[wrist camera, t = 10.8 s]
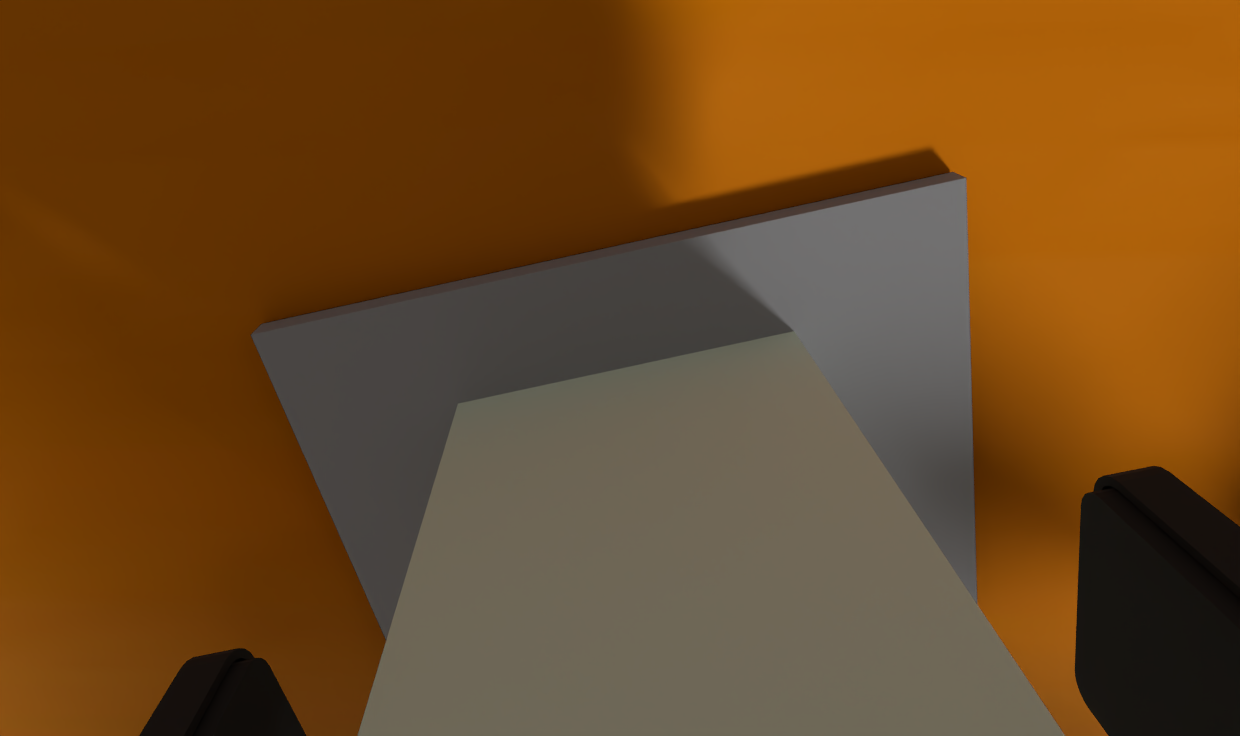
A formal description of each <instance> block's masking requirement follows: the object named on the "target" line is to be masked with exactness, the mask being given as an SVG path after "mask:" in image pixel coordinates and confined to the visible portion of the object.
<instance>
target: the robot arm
mask: <svg viewBox="0 0 1240 736" xmlns="http://www.w3.org/2000/svg"><path fill="white" fill-rule="evenodd" d="M1075 677H1076V681H1077V685H1078V688H1079V691H1080V693H1081V695H1082V697H1083V700H1084V701H1085V703H1086V705H1087V706H1088V708H1089V709H1090V711H1091V712H1092V713H1093V715H1094V716H1095V717H1096V719H1097V720H1098V722H1099V723H1100V724H1101V726H1102V727H1103V728H1104V730H1105V731H1106V733H1107V734H1108V735H1109V736H1240V527H1239V526H1238V525H1237V524H1235V523H1234V522H1233V521H1232V520H1230V519H1229V518H1228V517H1226V516H1225V515H1224V514H1223V513H1221V512H1220V511H1219V510H1217V509H1216V508H1215V507H1214V506H1212V505H1211V504H1210V503H1208V502H1207V501H1206V500H1205V499H1203V498H1202V497H1201V496H1200V495H1198V494H1197V493H1196V492H1194V491H1193V490H1192V489H1191V488H1189V487H1188V486H1187V485H1185V484H1184V483H1183V482H1182V481H1180V480H1179V479H1178V478H1176V477H1175V476H1174V475H1173V474H1171V473H1170V472H1169V471H1167V470H1165V469H1163V468H1162V467H1157V466H1151V467H1146V468H1141V469H1136V470H1131V471H1126V472H1121V473H1116V474H1111V475H1106V476H1102V477H1100V478H1098V480H1097V482H1096V483H1095V486H1094V492H1090V493H1087V494H1085V495H1084V497H1083V498H1082V503H1081V520H1080V547H1079V573H1078V600H1077V626H1076V653H1075ZM139 736H306V734H305V732H304V730H303V728H302V727H301V725H300V723H299V721H298V719H297V717H296V715H295V713H294V711H293V710H292V708H291V706H290V704H289V702H288V700H287V698H286V696H285V694H284V693H283V691H282V689H281V687H280V685H279V683H278V681H277V679H276V677H275V675H274V674H273V672H272V670H271V668H270V666H269V665H268V663H267V662H266V661H265V660H264V659H262V658H254V657H253V655H252V654H251V652H249V651H247V650H246V649H240V648H238V649H233V650H228V651H223V652H218V653H213V654H208V655H203V656H198V657H193V658H191V659H190V660H188V661H186V663H185V664H184V665H183V666H182V667H181V669H180V670H179V672H178V673H177V675H176V677H175V678H174V680H173V682H172V683H171V685H170V687H169V688H168V690H167V691H166V693H165V695H164V696H163V698H162V700H161V701H160V703H159V704H158V706H157V708H156V709H155V711H154V713H153V714H152V716H151V717H150V719H149V721H148V722H147V724H146V726H145V727H144V729H143V731H142V732H141V734H140V735H139Z"/></svg>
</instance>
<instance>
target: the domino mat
mask: <svg viewBox="0 0 1240 736" xmlns="http://www.w3.org/2000/svg"><path fill="white" fill-rule="evenodd" d="M792 331H794V332H795V333H796V335H797V336H798V338H799V339H800V341H801V342H802V344H803V345H804V347H805V348H806V350H807V351H808V353H809V354H810V356H811V357H812V359H813V360H814V362H815V363H816V365H817V366H818V368H819V369H820V371H821V372H822V374H823V375H824V377H825V378H826V380H827V381H828V383H829V384H830V386H831V387H832V389H833V390H834V392H835V393H836V395H837V396H838V398H839V399H840V401H841V402H842V403H843V405H844V406H845V408H846V409H847V411H848V412H849V414H850V415H851V417H852V418H853V420H854V421H855V423H856V424H857V426H858V427H859V429H860V430H861V432H862V433H863V435H864V436H865V438H866V439H867V441H868V442H869V444H870V445H871V447H872V448H873V450H874V451H875V453H876V454H877V456H878V457H879V459H880V460H881V462H882V463H883V465H884V466H885V468H886V469H887V471H888V472H889V474H890V475H891V477H892V478H893V480H894V481H895V483H896V484H897V486H898V487H899V489H900V490H901V492H902V493H903V495H904V496H905V498H906V499H907V501H908V502H909V504H910V505H911V507H912V508H913V510H914V511H915V512H916V514H917V515H918V517H919V518H920V520H921V521H922V523H923V524H924V526H925V527H926V529H927V530H928V532H929V533H930V535H931V536H932V538H933V539H934V541H935V542H936V544H937V545H938V547H939V548H940V550H941V551H942V553H943V554H944V556H945V557H946V559H947V560H948V562H949V563H950V565H951V566H952V568H953V569H954V571H955V572H956V574H957V575H958V577H959V578H960V580H961V581H962V583H963V584H964V586H965V587H966V589H967V590H968V592H969V593H970V595H971V596H972V598H973V599H974V601H975V602H976V604H977V581H976V542H975V503H974V464H973V426H972V387H971V348H970V309H969V271H968V232H967V193H966V178H965V177H963V176H961V175H958V174H956V173H954V172H950V173H946V174H941V175H937V176H932V177H927V178H923V179H918V180H914V181H909V182H905V183H900V184H896V185H891V186H887V187H882V188H877V189H873V190H868V191H864V192H859V193H855V194H850V195H846V196H841V197H837V198H832V199H827V200H823V201H818V202H814V203H809V204H805V205H800V206H796V207H791V208H787V209H782V210H777V211H773V212H768V213H764V214H759V215H755V216H750V217H746V218H741V219H737V220H732V221H727V222H723V223H718V224H714V225H709V226H705V227H700V228H696V229H691V230H686V231H682V232H677V233H673V234H668V235H664V236H659V237H655V238H650V239H646V240H641V241H636V242H632V243H627V244H623V245H618V246H614V247H609V248H605V249H600V250H596V251H591V252H586V253H582V254H577V255H573V256H568V257H564V258H559V259H555V260H550V261H546V262H541V263H536V264H532V265H527V266H523V267H518V268H514V269H509V270H505V271H500V272H496V273H491V274H486V275H482V276H477V277H473V278H468V279H464V280H459V281H455V282H450V283H445V284H441V285H436V286H432V287H427V288H423V289H418V290H414V291H409V292H405V293H400V294H395V295H391V296H386V297H382V298H377V299H373V300H368V301H364V302H359V303H355V304H350V305H345V306H341V307H336V308H332V309H327V310H323V311H318V312H314V313H309V314H305V315H300V316H295V317H291V318H286V319H282V320H277V321H273V322H268V323H264V324H261V325H260V326H259V327H258V328H257V329H256V330H255V331H254V332H253V333H252V334H251V337H252V339H253V341H254V344H255V346H256V348H257V350H258V353H259V355H260V357H261V359H262V362H263V364H264V366H265V368H266V371H267V373H268V375H269V377H270V380H271V382H272V384H273V386H274V389H275V391H276V393H277V395H278V398H279V400H280V402H281V404H282V407H283V409H284V411H285V413H286V416H287V418H288V420H289V422H290V425H291V427H292V429H293V432H294V434H295V436H296V438H297V441H298V443H299V445H300V447H301V450H302V452H303V454H304V456H305V459H306V461H307V463H308V465H309V468H310V470H311V472H312V474H313V477H314V479H315V481H316V483H317V486H318V488H319V490H320V492H321V495H322V497H323V499H324V501H325V504H326V506H327V508H328V510H329V513H330V515H331V517H332V519H333V522H334V524H335V526H336V528H337V531H338V533H339V535H340V538H341V540H342V542H343V544H344V547H345V549H346V551H347V553H348V556H349V558H350V560H351V562H352V565H353V567H354V569H355V571H356V574H357V576H358V578H359V580H360V583H361V585H362V587H363V589H364V592H365V594H366V596H367V598H368V601H369V603H370V605H371V607H372V610H373V612H374V614H375V616H376V619H377V621H378V623H379V625H380V628H381V630H382V632H383V635H384V637H385V639H386V640H387V636H388V633H389V630H390V627H391V623H392V620H393V617H394V613H395V610H396V607H397V603H398V600H399V597H400V594H401V590H402V587H403V584H404V580H405V577H406V574H407V570H408V567H409V564H410V560H411V557H412V554H413V551H414V547H415V544H416V541H417V537H418V534H419V531H420V527H421V524H422V521H423V517H424V514H425V511H426V508H427V504H428V501H429V498H430V494H431V491H432V488H433V484H434V481H435V478H436V475H437V471H438V468H439V465H440V461H441V458H442V455H443V451H444V448H445V445H446V441H447V438H448V435H449V432H450V428H451V425H452V422H453V418H454V415H455V412H456V408H457V405H458V403H463V402H468V401H472V400H477V399H482V398H486V397H491V396H496V395H500V394H505V393H510V392H514V391H519V390H523V389H528V388H533V387H537V386H542V385H547V384H551V383H556V382H561V381H565V380H570V379H574V378H579V377H584V376H588V375H593V374H598V373H602V372H607V371H612V370H616V369H621V368H625V367H630V366H635V365H639V364H644V363H649V362H653V361H658V360H663V359H667V358H672V357H676V356H681V355H686V354H690V353H695V352H700V351H704V350H709V349H714V348H718V347H723V346H728V345H732V344H737V343H741V342H746V341H751V340H755V339H760V338H765V337H769V336H774V335H779V334H783V333H788V332H792Z"/></svg>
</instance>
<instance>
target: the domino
mask: <svg viewBox="0 0 1240 736" xmlns="http://www.w3.org/2000/svg"><path fill="white" fill-rule="evenodd" d="M358 736H1065V735H1064V733H1063V732H1062V730H1061V729H1060V727H1059V726H1058V724H1057V723H1056V722H1055V720H1054V719H1053V717H1052V716H1051V714H1050V713H1049V711H1048V710H1047V708H1046V707H1045V705H1044V704H1043V702H1042V701H1041V699H1040V698H1039V696H1038V695H1037V693H1036V692H1035V690H1034V689H1033V687H1032V686H1031V684H1030V683H1029V681H1028V680H1027V678H1026V677H1025V675H1024V674H1023V672H1022V671H1021V669H1020V668H1019V666H1018V665H1017V663H1016V662H1015V660H1014V659H1013V657H1012V656H1011V654H1010V653H1009V651H1008V650H1007V648H1006V647H1005V645H1004V644H1003V642H1002V641H1001V639H1000V638H999V636H998V635H997V633H996V632H995V630H994V629H993V627H992V626H991V624H990V623H989V621H988V620H987V618H986V617H985V616H984V614H983V613H982V611H981V610H980V608H979V607H978V605H977V604H976V602H975V601H974V599H973V598H972V596H971V595H970V593H969V592H968V590H967V589H966V587H965V586H964V584H963V583H962V581H961V580H960V578H959V577H958V575H957V574H956V572H955V571H954V569H953V568H952V566H951V565H950V563H949V562H948V560H947V559H946V557H945V556H944V554H943V553H942V551H941V550H940V548H939V547H938V545H937V544H936V542H935V541H934V539H933V538H932V536H931V535H930V533H929V532H928V530H927V529H926V527H925V526H924V524H923V523H922V521H921V520H920V518H919V517H918V515H917V514H916V512H915V511H914V510H913V508H912V507H911V505H910V504H909V502H908V501H907V499H906V498H905V496H904V495H903V493H902V492H901V490H900V489H899V487H898V486H897V484H896V483H895V481H894V480H893V478H892V477H891V475H890V474H889V472H888V471H887V469H886V468H885V466H884V465H883V463H882V462H881V460H880V459H879V457H878V456H877V454H876V453H875V451H874V450H873V448H872V447H871V445H870V444H869V442H868V441H867V439H866V438H865V436H864V435H863V433H862V432H861V430H860V429H859V427H858V426H857V424H856V423H855V421H854V420H853V418H852V417H851V415H850V414H849V412H848V411H847V409H846V408H845V406H844V405H843V403H842V402H841V401H840V399H839V398H838V396H837V395H836V393H835V392H834V390H833V389H832V387H831V386H830V384H829V383H828V381H827V380H826V378H825V377H824V375H823V374H822V372H821V371H820V369H819V368H818V366H817V365H816V363H815V362H814V360H813V359H812V357H811V356H810V354H809V353H808V351H807V350H806V348H805V347H804V345H803V344H802V342H801V341H800V339H799V338H798V336H797V335H796V333H795V332H794V331H792V332H788V333H783V334H779V335H774V336H769V337H765V338H760V339H755V340H751V341H746V342H741V343H737V344H732V345H728V346H723V347H718V348H714V349H709V350H704V351H700V352H695V353H690V354H686V355H681V356H676V357H672V358H667V359H663V360H658V361H653V362H649V363H644V364H639V365H635V366H630V367H625V368H621V369H616V370H612V371H607V372H602V373H598V374H593V375H588V376H584V377H579V378H574V379H570V380H565V381H561V382H556V383H551V384H547V385H542V386H537V387H533V388H528V389H523V390H519V391H514V392H510V393H505V394H500V395H496V396H491V397H486V398H482V399H477V400H472V401H468V402H463V403H458V405H457V408H456V412H455V415H454V418H453V422H452V425H451V428H450V432H449V435H448V438H447V441H446V445H445V448H444V451H443V455H442V458H441V461H440V465H439V468H438V471H437V475H436V478H435V481H434V484H433V488H432V491H431V494H430V498H429V501H428V504H427V508H426V511H425V514H424V517H423V521H422V524H421V527H420V531H419V534H418V537H417V541H416V544H415V547H414V551H413V554H412V557H411V560H410V564H409V567H408V570H407V574H406V577H405V580H404V584H403V587H402V590H401V594H400V597H399V600H398V603H397V607H396V610H395V613H394V617H393V620H392V623H391V627H390V630H389V633H388V636H387V640H386V643H385V646H384V650H383V653H382V656H381V660H380V663H379V666H378V670H377V673H376V676H375V679H374V683H373V686H372V689H371V693H370V696H369V699H368V703H367V706H366V709H365V712H364V716H363V719H362V722H361V726H360V729H359V732H358Z"/></svg>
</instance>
